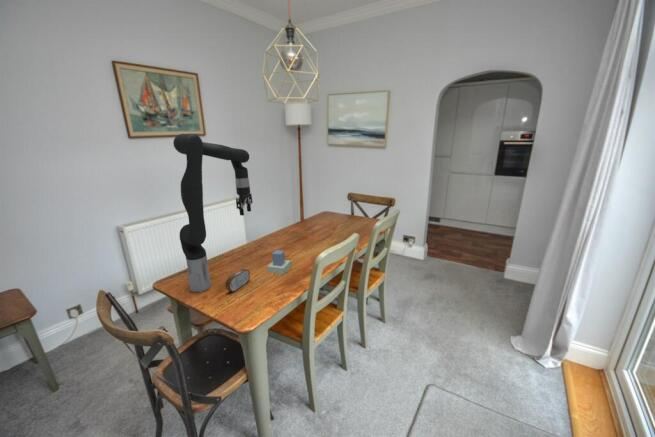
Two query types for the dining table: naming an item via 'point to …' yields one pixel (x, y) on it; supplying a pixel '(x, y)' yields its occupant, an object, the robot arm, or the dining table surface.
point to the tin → (237, 280)
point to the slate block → (278, 258)
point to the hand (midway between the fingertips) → (245, 213)
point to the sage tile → (279, 267)
